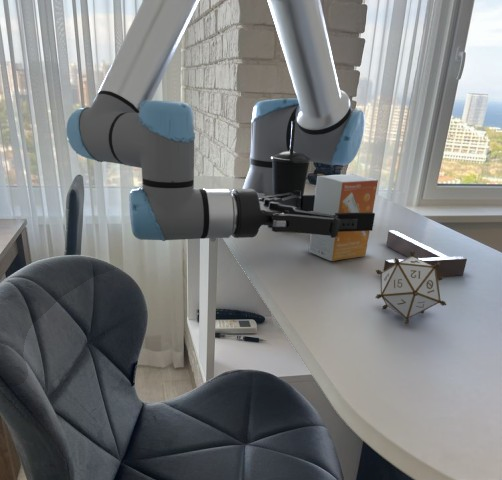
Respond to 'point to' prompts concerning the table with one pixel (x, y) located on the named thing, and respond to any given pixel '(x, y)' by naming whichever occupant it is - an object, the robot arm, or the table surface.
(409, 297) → the game die
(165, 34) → the robot arm
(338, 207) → the small box
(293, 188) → the drinking cup
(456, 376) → the table surface
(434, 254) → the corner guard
